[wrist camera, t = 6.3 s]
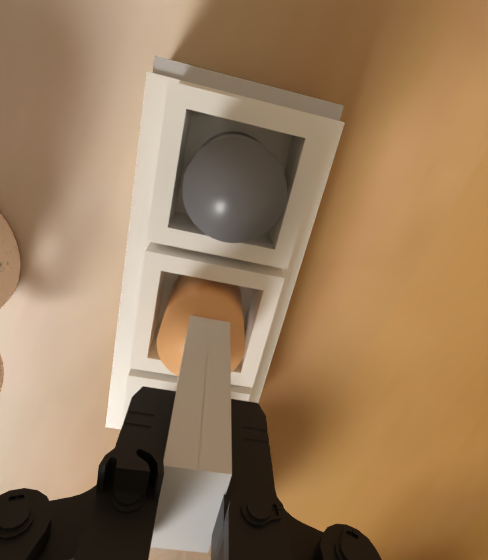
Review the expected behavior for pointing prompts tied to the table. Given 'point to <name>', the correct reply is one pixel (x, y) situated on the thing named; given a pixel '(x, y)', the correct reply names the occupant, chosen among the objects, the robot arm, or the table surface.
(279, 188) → the grey egg
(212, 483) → the robot arm
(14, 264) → the teacup with lid
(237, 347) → the brown egg
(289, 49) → the table surface
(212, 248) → the traffic light
